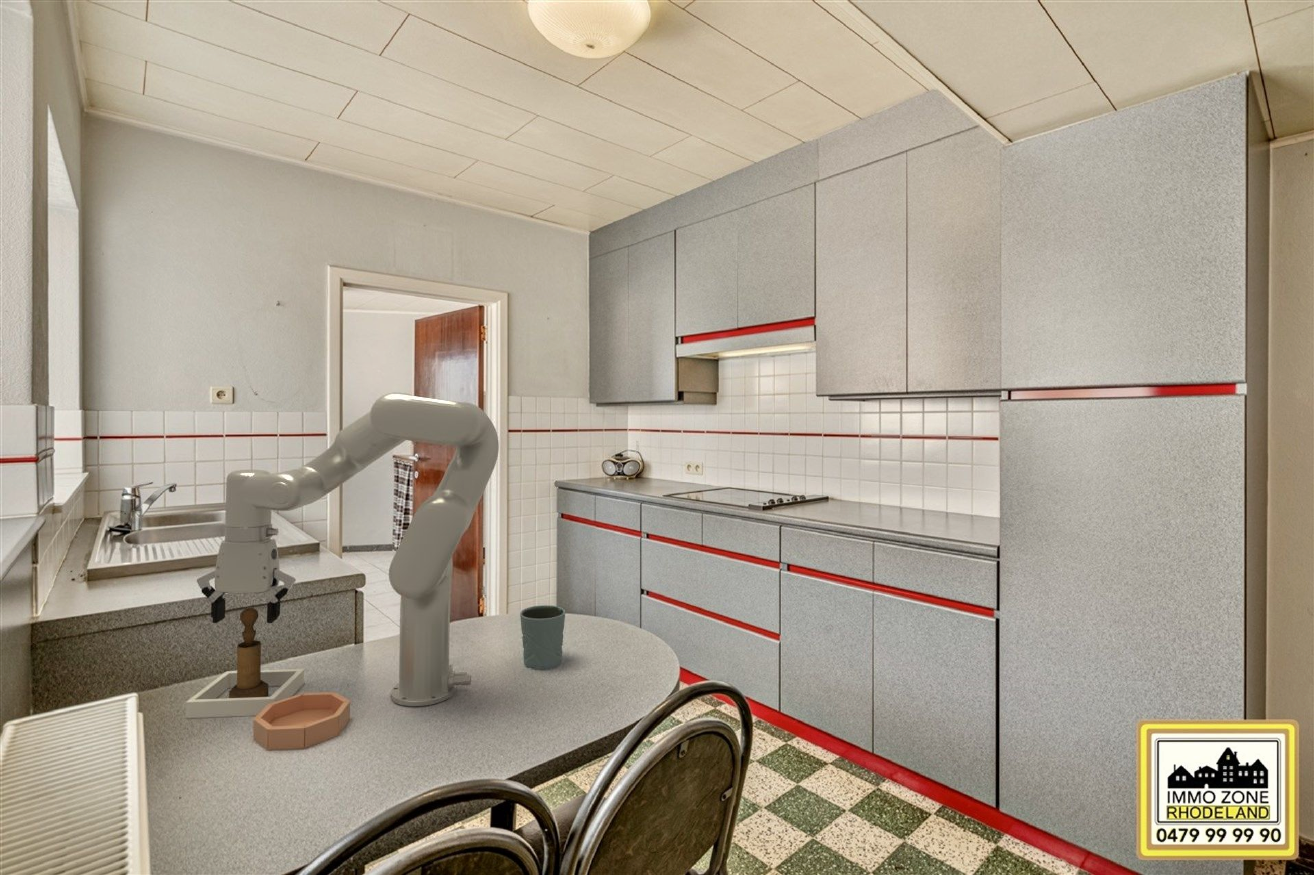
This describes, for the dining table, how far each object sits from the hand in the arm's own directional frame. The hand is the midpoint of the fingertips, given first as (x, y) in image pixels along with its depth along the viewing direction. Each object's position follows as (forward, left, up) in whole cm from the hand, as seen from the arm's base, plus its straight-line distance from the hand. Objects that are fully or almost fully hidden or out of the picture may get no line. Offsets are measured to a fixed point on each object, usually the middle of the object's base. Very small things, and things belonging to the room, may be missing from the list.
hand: (245, 621), depth 124 cm
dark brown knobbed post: (-1, 0, -16) cm, 16 cm away
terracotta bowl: (-16, +13, -16) cm, 26 cm away
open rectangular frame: (-1, 0, -16) cm, 16 cm away
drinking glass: (-57, -14, -16) cm, 60 cm away
